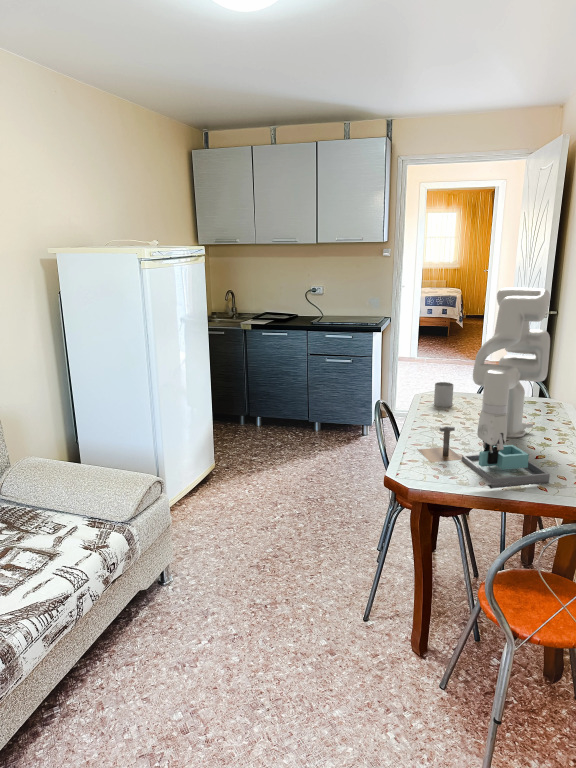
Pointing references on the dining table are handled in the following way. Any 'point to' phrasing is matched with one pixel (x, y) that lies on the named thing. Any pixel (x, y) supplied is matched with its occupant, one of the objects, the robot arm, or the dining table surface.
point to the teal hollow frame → (506, 458)
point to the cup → (443, 394)
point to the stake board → (441, 449)
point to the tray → (536, 476)
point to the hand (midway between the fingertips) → (490, 461)
